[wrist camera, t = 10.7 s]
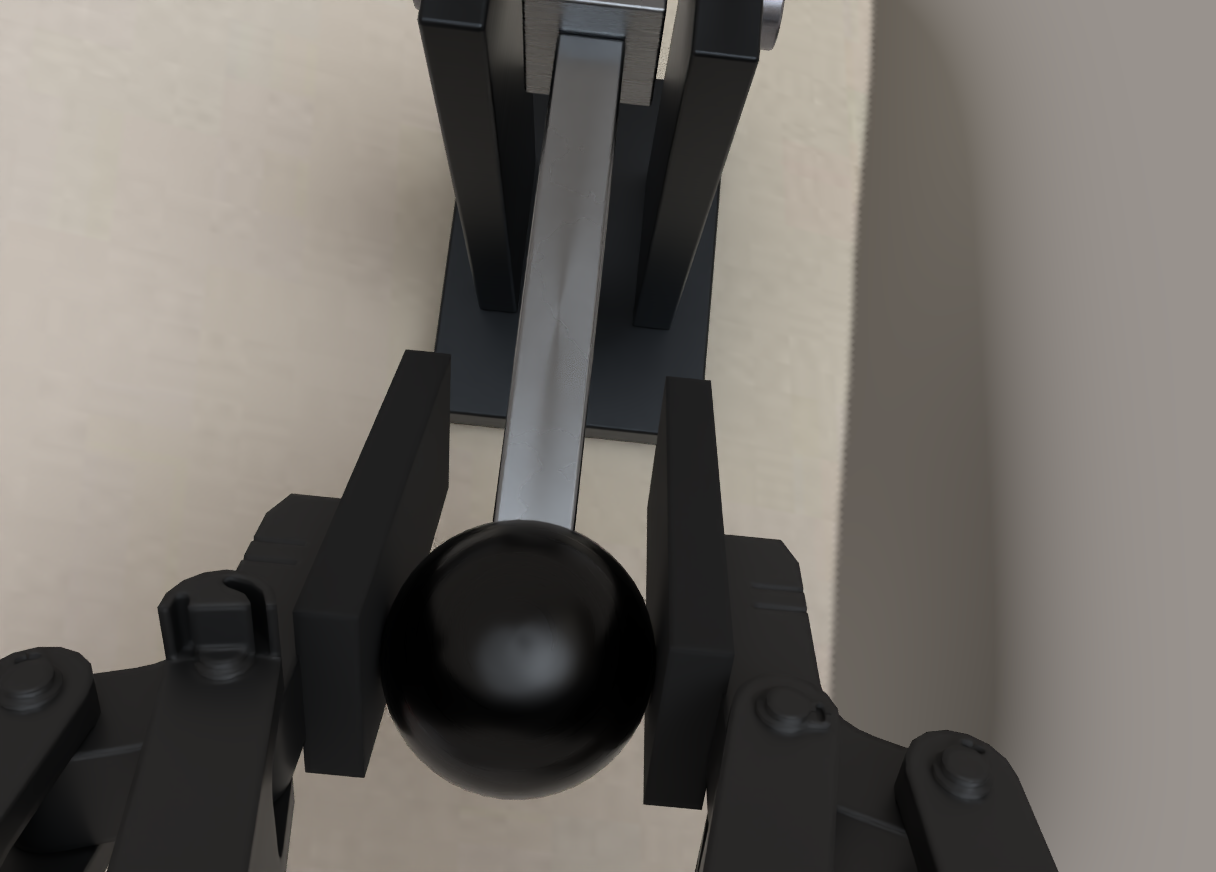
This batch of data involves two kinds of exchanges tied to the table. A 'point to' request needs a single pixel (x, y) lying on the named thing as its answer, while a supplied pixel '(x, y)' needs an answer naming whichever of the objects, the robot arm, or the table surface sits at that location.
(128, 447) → the table surface
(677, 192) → the switch bracket
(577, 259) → the lever
